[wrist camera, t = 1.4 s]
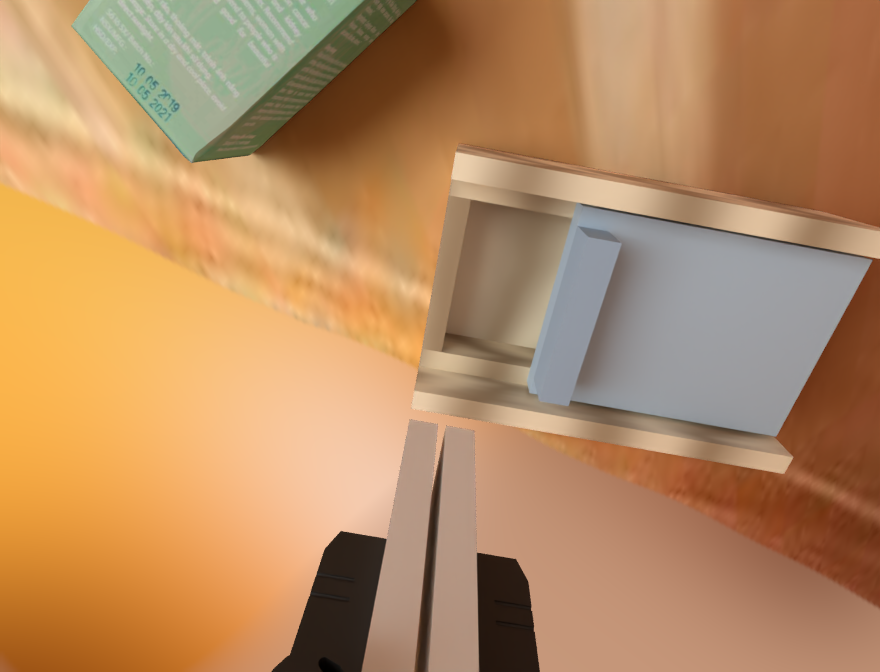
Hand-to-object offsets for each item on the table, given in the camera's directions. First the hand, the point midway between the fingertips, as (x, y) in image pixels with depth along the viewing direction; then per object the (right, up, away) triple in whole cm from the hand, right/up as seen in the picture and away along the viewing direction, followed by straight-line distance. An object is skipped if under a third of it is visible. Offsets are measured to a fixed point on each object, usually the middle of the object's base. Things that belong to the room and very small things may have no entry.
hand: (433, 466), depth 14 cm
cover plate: (+14, +4, +15) cm, 21 cm away
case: (+11, +7, +19) cm, 23 cm away
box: (-8, +21, +14) cm, 26 cm away
